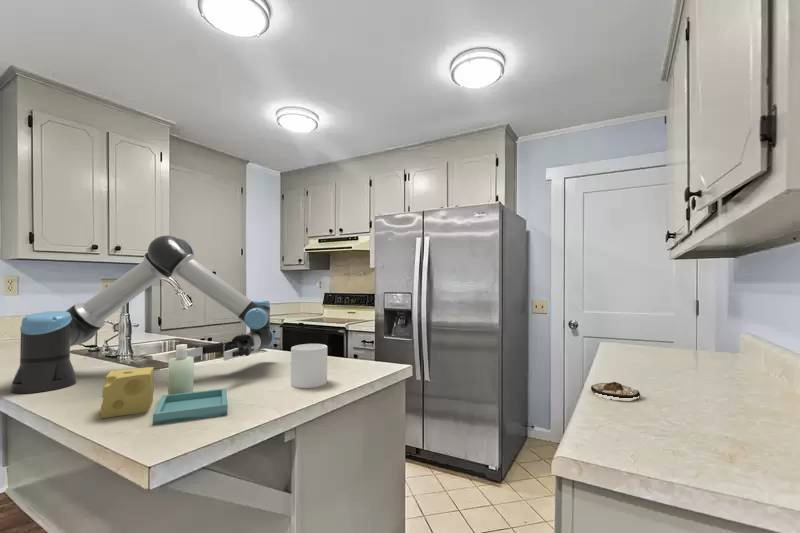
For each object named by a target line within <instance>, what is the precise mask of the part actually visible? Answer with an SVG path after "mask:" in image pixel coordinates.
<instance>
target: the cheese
mask: <svg viewBox="0 0 800 533" xmlns="http://www.w3.org/2000/svg"><path fill="white" fill-rule="evenodd" d="M154 369H155V368H154V367H153V366H152V367H151V366H149V367H146V366H145V367H138V368H129V369H128V368H127V369H115V370H110V372H108V374H107V375H106V377H105V385H104V386H103V388H102V393H101V395H102V403H101V406H100V418H101V419H102V418H103V419H109V418H114V417H122V416H129V415H137V413H139V414H145V412H147V413H149V410H150V409H151V406H152V404H153V401H154V383H155V382H154V380H155V379H154V378H155V374H154Z"/></svg>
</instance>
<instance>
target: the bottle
mask: <svg viewBox="0 0 800 533" xmlns="http://www.w3.org/2000/svg"><path fill="white" fill-rule="evenodd" d="M187 350H188V344H186V343H185V344H184V343H183V344H177V345H175V357H172V358H169V359H168V370H167V371H168V373H167V375H168V380H167V381H168V384H167V387H168V389H167V395H170V394H179V393H187V392H194V376H195V375H194V372H195V371H194V370H195V369H194V368H195V367H194V366H195V365H194V363H195V361H194V360H195V357H190V356H187Z"/></svg>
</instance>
